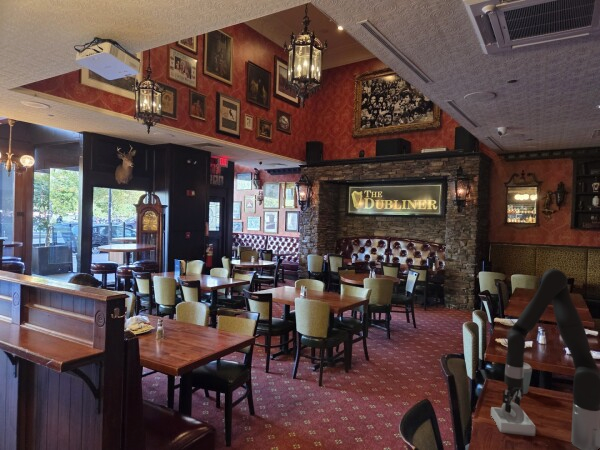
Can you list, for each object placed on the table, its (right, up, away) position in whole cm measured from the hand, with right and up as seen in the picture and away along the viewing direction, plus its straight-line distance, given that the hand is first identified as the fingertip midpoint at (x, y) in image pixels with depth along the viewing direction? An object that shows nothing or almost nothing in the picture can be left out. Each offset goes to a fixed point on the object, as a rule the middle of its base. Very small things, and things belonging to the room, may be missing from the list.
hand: (512, 409), depth 179 cm
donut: (0, -7, 0) cm, 7 cm away
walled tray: (0, -8, 0) cm, 8 cm away
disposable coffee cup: (+24, -7, +36) cm, 43 cm away
